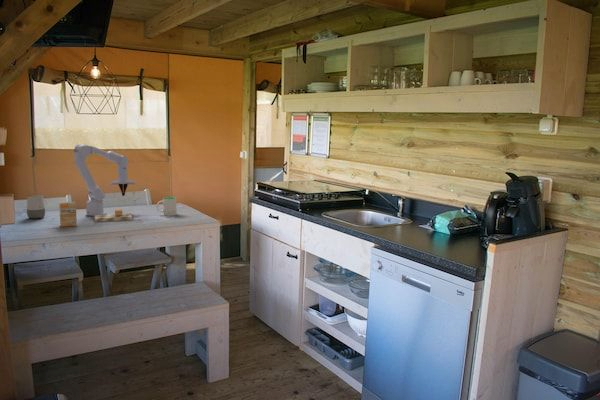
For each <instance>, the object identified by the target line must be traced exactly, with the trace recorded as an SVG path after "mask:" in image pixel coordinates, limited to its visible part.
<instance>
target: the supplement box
mask: <svg viewBox="0 0 600 400" xmlns="http://www.w3.org/2000/svg"><path fill="white" fill-rule="evenodd" d="M58 204H59V205H58V206H59V224H60V227H73V226H74V227H77V226H78V222H77V221H78V219H77V218H78V217H77V202H76V201H59V203H58Z"/></svg>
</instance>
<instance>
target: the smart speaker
mask: <svg viewBox="0 0 600 400" xmlns="http://www.w3.org/2000/svg"><path fill="white" fill-rule="evenodd" d="M45 207H46V205H45V201H44V195H43V194H39V195H33V196H28V197H27V198H26V215H27V217H28V218H29V219H30V220H39V219H43V218H45V216H46V208H45Z"/></svg>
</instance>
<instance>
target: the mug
mask: <svg viewBox="0 0 600 400" xmlns="http://www.w3.org/2000/svg"><path fill="white" fill-rule="evenodd" d="M160 203H162V210H160V209H159V204H160ZM156 208H157V211H159V212H160V213H161V212H162V213H163V216H176V215H177V214H178V213H177V212H178V211H177V197H173V196H168V197H167V196H166V197H163V198H162V200H159V201H158V202H157V203H156Z"/></svg>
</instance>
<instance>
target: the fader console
mask: <svg viewBox="0 0 600 400" xmlns="http://www.w3.org/2000/svg"><path fill="white" fill-rule="evenodd" d="M132 219H133V218H132V214H131V213H122V215H118V216H115V213H114V214H105V215H95V216H94V222H95V223H99V222H101V221H102V222H118V221H132ZM102 222H101V223H102Z"/></svg>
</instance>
